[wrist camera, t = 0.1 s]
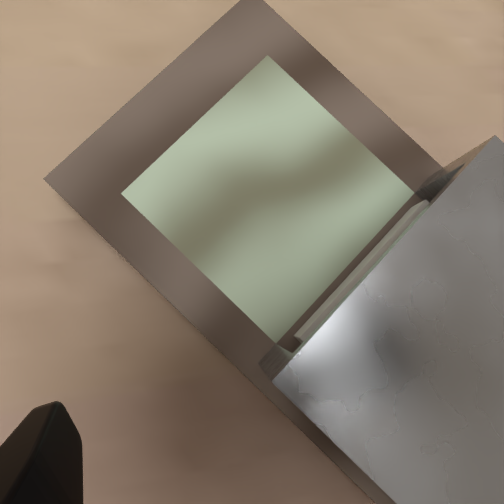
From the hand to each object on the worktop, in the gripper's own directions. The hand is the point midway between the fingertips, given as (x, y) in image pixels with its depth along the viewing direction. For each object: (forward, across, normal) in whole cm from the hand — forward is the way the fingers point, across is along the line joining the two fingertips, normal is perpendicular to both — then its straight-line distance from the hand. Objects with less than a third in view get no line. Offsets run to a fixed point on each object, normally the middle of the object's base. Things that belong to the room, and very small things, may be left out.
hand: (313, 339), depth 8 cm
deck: (+10, -8, +11) cm, 17 cm away
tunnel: (+9, -7, +9) cm, 15 cm away
